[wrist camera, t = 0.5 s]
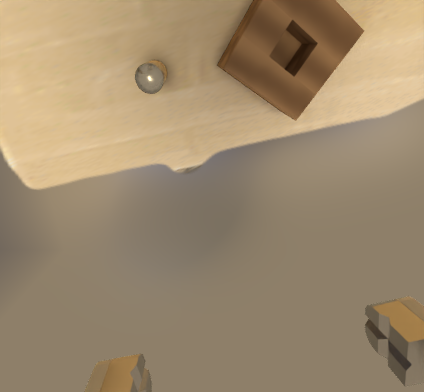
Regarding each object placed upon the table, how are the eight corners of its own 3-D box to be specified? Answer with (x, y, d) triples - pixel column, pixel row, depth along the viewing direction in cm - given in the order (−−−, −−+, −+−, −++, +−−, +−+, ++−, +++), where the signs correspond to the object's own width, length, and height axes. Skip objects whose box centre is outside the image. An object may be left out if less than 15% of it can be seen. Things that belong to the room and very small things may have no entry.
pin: (150, 55, 43) (142, 57, 33) (170, 68, 44) (168, 74, 35) (141, 76, 44) (130, 83, 35) (161, 88, 46) (156, 99, 36)
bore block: (270, -32, 38) (290, -48, 32) (336, 33, 44) (364, 31, 37) (217, 65, 45) (223, 68, 38) (280, 111, 50) (295, 120, 44)
